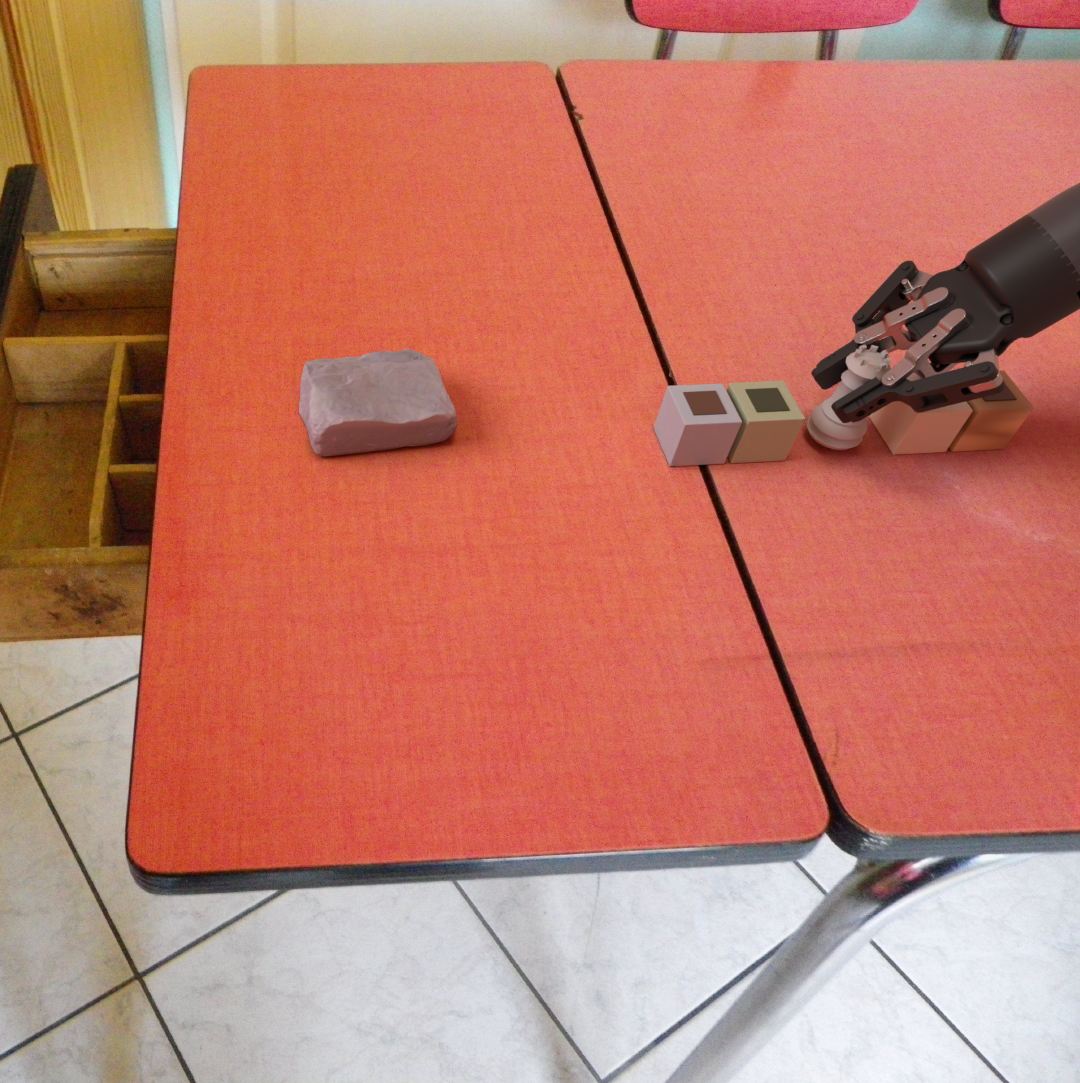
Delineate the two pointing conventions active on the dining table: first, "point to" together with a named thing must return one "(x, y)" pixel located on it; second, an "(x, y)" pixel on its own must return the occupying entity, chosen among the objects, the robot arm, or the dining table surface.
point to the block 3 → (919, 427)
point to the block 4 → (993, 419)
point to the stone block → (374, 403)
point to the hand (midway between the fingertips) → (827, 397)
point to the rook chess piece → (859, 372)
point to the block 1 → (696, 424)
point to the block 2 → (764, 421)
